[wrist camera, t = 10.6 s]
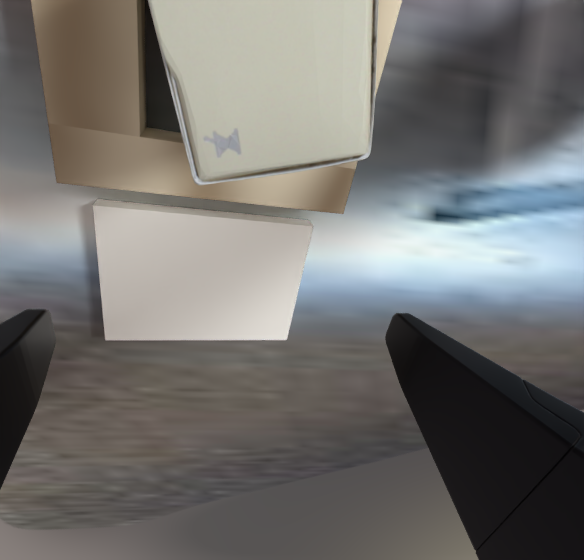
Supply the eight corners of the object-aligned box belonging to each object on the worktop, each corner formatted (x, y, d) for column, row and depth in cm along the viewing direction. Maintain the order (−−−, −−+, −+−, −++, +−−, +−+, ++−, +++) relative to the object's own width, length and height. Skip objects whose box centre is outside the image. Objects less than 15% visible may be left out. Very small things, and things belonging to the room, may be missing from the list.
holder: (408, -119, 15) (442, -147, 13) (329, 198, 22) (343, 213, 20) (20, -285, 11) (-21, -363, 9) (72, 168, 18) (56, 182, 16)
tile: (309, 219, 22) (313, 226, 22) (283, 331, 27) (286, 339, 26) (97, 198, 19) (92, 205, 18) (108, 330, 23) (105, 340, 23)
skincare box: (279, 109, 19) (376, 175, 9) (196, 120, 18) (195, 204, 8) (264, -56, 15) (398, -276, 5) (159, -50, 14) (73, -287, 4)
